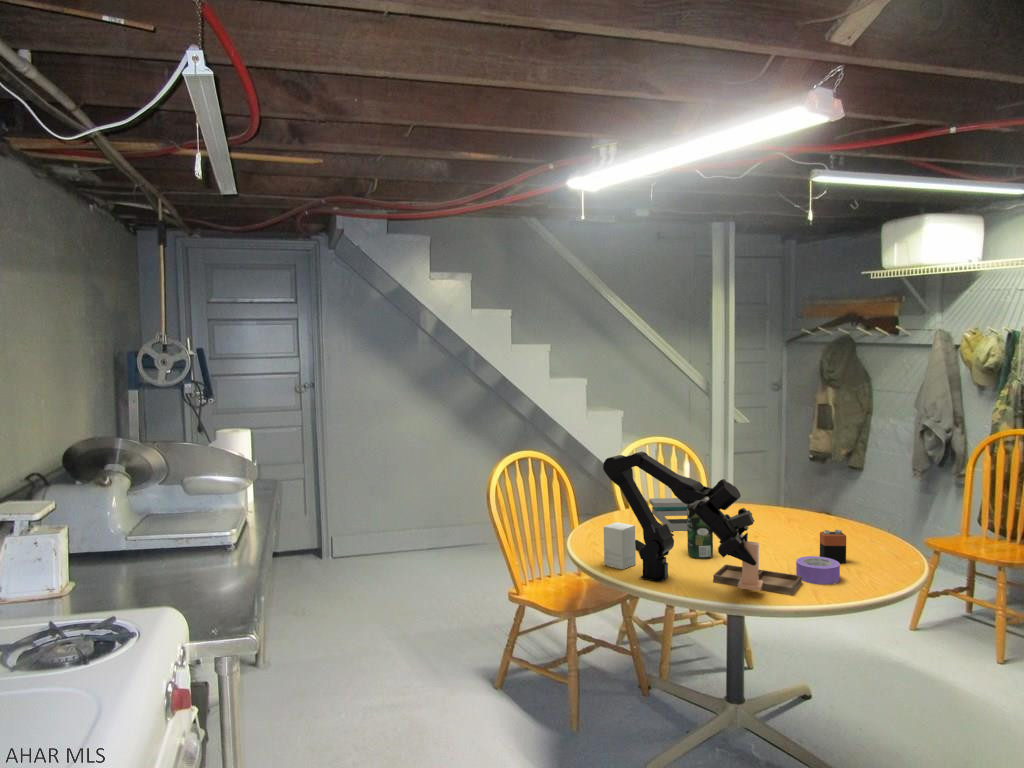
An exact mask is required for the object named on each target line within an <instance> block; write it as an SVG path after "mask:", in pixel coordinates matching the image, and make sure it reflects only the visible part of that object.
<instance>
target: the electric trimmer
mask: <svg viewBox="0 0 1024 768" xmlns="http://www.w3.org/2000/svg"><path fill="white" fill-rule="evenodd" d="M645 546H646V544H645V542H642V541H640V540H639V539H635V550H637V551H638V552H639V551H641V550H642V549H643V548H644V547H645Z"/></svg>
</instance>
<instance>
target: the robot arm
mask: <svg viewBox="0 0 1024 768" xmlns="http://www.w3.org/2000/svg"><path fill="white" fill-rule="evenodd" d="M634 467H637V468H639V469H641V470H642V471H644V472H645V473H646V474H648V475H650V476H651V477H652V478H654V479H656V480H658V481H659V482H660V483H662V484H664V485H665V486H667V487H668V488H669V489H670V491H671V492H672V493H673V495H674V496H675V498H678V499H679V500H681V501H682V502H683V503H685V504H692V503H694V502H697V501H699V500H702V499H704V498H709V499H708V500H707V501H706V502H705V501H700V502H699V503H698V504H697V505H696V506H691V507H690V508H689V518H691V517H692V516H694V515H695V514H696V515H697V516H698V517H699V518H700V519H701V520H702V521H703V522H704V523H705V524H706V526H707V527H708V528H709V532H710V533H712V532H713V534H714V535H715V536H716V537H717V538H718V540H719V543H720V544H719V546H718V547H717V553H718V554H719V555H720V556H721V557H722V558H725V557H726V556H728V557H729V556H730V557H731V558H732V557H733V558H735V559H738V560H739V561H744V562H746V563H748V564H751V565H753V566H754V565H756V561H755V560H754V558H753V557H752V556H751V554H750V553H749V552H748V550H747V549H746V547H745V541H748V539H749V538H748V537H749V533H748V530H749V527H750V526H752V525H754V522H755V519H754V517H753V513H752V512H751V510H749V509H748V510H747V509H746V508H745V507H742V508H739V509H738V511H737V514H735V515H733V516H730V514H727V513H725V514H724V513H723V511H726V510H728V509H729V508H730V507H731V506H732V505H734V504H735V503H736V502H737V501H738V500H740V498H741V493H740V491H739V489H738V488H737V486H736V485H735V486H734V485H733V484H732V483H730V482H728V481H726V479H724V478H723V479H720V480H719V481H718V482H717V483H716V484H715V485H714V486H713V487H708V486H705V485H703V484H702V482H700V481H698V480H695V479H693V478H691V477H688V476H684V475H680V474H679V473H676V472H675V471H673V470H672V469H670V468H669V467H668V466H666V465H664V464H663V463H661V462H659V461H658V460H656V459H655V458H653V457H651V456H650V455H649V454H648V453H646V452H645V451H639V452H634V453H632V454H630V455H627V456H625V455H622V454H619V455H614V456H610V457H607V458H606V459H604V461H603V465H602V470H603V472H604V473H605V475H606V476H607V477H608V479H609V480H610V481H611V482H613V483H614V484H615V485H616V486H617V487H619V489H620V490H621V492H622V494H623V496H624V498H625V499H626V501H627V503H628V505H629V507H630V508H631V509H630V510H632V512H633V514H634V516H635V517H636V520H637V521H638V523H639V525H640V526H641V529H642V535H643V536H642V537H643V541H644V544H645V545H646V546H645V547H644V548H643V549H642V550H641V551H638V556H639V558H640V560H642V575H640V579H641V578H642V580H646V581H654V582H658V581H659V582H663V581H664V580H666V579H667V578H668V577H669V563H668V562H667V557H666V556H669V553H670V551H671V550H672V549H673V547H674V544H675V540H674V536H675V535H674V534H673V532H672V531H670V530H669V527H668V525H667V524H661V523H660V522H659V521H658V519H657V518H656V516H655V515H654V514H653V513H652V509H651V508H650V507H649V505H648V503H647V501H646V500H645V498H644V496H643V494H642V492H641V491H640V488H639V487H638V485H637V483H636V481H635V480H634V471H633V468H634ZM745 532H746V533H745ZM743 533H745V534H743ZM659 582H658V583H659Z"/></svg>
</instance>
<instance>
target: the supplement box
mask: <svg viewBox="0 0 1024 768" xmlns="http://www.w3.org/2000/svg"><path fill="white" fill-rule="evenodd" d="M635 540H636V525H633V524H629V523H623V522H618V521H616V522H613V523H610V524H607V525H604V526H603V557H604V558H603V559H604V560H603V564H604V566H605V565H607V566H606V567H609V566H611V567H610V568H613V567H615V568H614V569H618V568H619V569H618V570H622V569H623V570H625V568H626V569H628V567H629V568H631V567H633V565H634V566H636V564H637V563H636V561H637V560H636V559H637V557H636V548H635ZM630 566H631V567H630Z"/></svg>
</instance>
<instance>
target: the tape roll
mask: <svg viewBox="0 0 1024 768" xmlns="http://www.w3.org/2000/svg"><path fill="white" fill-rule="evenodd" d="M795 563H796V568H795V570H796V571H795V575H798V576H802V582H803V583H805V582H806V583H807V584H808V583H809V584H812V585H813V584H814V585H821V584H822V585H823V586H824V585H825V584H830V585H835V584H834V583H836V584H838V583H839V582H840V581H841V575H840V574H841V572H840V568H841V563H839V562H837V561H836V560H833V559H830V558H825V557H820V556H817V555H816V556H813V555H812V556H809V555H808V556H801V557H798V558H797V559H796V560H795Z"/></svg>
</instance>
